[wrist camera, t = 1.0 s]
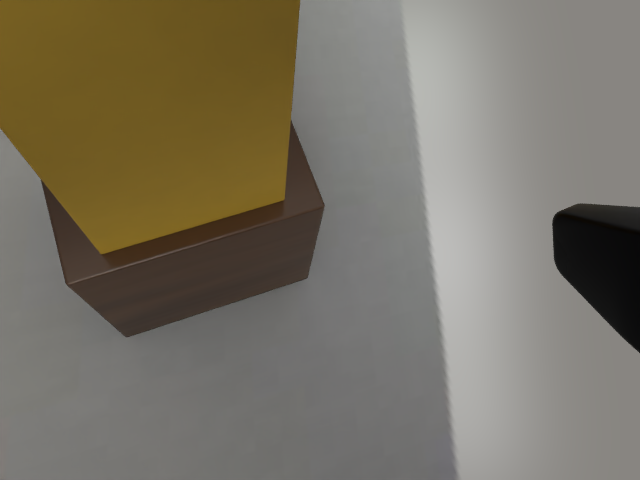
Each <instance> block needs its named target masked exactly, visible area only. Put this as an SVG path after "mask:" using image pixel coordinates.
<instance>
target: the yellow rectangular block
mask: <svg viewBox="0 0 640 480" xmlns="http://www.w3.org/2000/svg"><path fill="white" fill-rule="evenodd" d="M299 8H300V0H0V128H1V130H2V131H3V132H4V133H5V135H6V136H7V137H8V138H9V140H10V141H11V142H12V143H13V145H14V146H15V147H16V149H17V150H18V151H19V152H20V154H21V155H22V156H23V157H24V159H25V160H26V161H27V162H28V164H29V165H30V166H31V167H32V169H33V170H34V171H35V172H36V174H37V175H38V176H39V177H40V179H41V180H42V181H43V182H44V184H45V185H46V186H47V187H48V189H49V190H50V191H51V192H52V194H53V195H54V196H55V197H56V199H57V200H58V201H59V202H60V204H61V205H62V206H63V207H64V209H65V210H66V211H67V212H68V214H69V215H70V216H71V217H72V219H73V220H74V221H75V222H76V224H77V225H78V226H79V228H80V229H81V230H82V231H83V233H84V234H85V235H86V236H87V238H88V239H89V240H90V241H91V243H92V244H93V245H94V246H95V248H96V249H97V250H98V251H99V253H100V254H105V253H108V252H112V251H115V250H118V249H122V248H125V247H128V246H132V245H135V244H139V243H142V242H145V241H149V240H152V239H155V238H159V237H162V236H165V235H169V234H172V233H175V232H179V231H182V230H186V229H189V228H192V227H196V226H199V225H202V224H206V223H209V222H212V221H216V220H219V219H222V218H226V217H229V216H233V215H236V214H239V213H243V212H246V211H249V210H253V209H256V208H259V207H263V206H266V205H270V204H273V203H276V202H280V201H283V200H284V199H285V188H286V175H287V162H288V149H289V136H290V124H291V111H292V98H293V85H294V72H295V59H296V47H297V34H298V21H299Z"/></svg>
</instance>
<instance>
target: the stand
mask: <svg viewBox="0 0 640 480" xmlns="http://www.w3.org/2000/svg"><path fill="white" fill-rule="evenodd" d="M41 182H42V186H43V190H44V195H45V199H46V203H47V207H48V211H49V216H50V220H51V224H52V228H53V232H54V237H55V241H56V245H57V249H58V253H59V257H60V262H61V266H62V270H63V274H64V278H65V283H66V284H67V286H69V287H70V288H71V289H72V290H73V291H74V292H75V293H77V294H78V295H79V296H80V297H81V298H82V299H83V300H84V301H86V302H87V303H88V304H89V305H90V306H91V307H92V308H94V309H95V310H96V311H97V312H98V313H99V314H100V315H101V316H103V317H104V318H105V319H106V320H107V321H108V322H109V323H111V324H112V325H113V326H114V327H115V328H116V329H117V330H118V331H120V332H121V333H122V334H123V335H124V336H125V337H129V336H132V335H135V334H138V333H141V332H144V331H147V330H151V329H154V328H157V327H160V326H163V325H166V324H169V323H172V322H175V321H178V320H181V319H184V318H187V317H190V316H193V315H196V314H199V313H203V312H206V311H209V310H212V309H215V308H218V307H221V306H224V305H227V304H230V303H233V302H236V301H239V300H242V299H245V298H248V297H251V296H255V295H258V294H261V293H264V292H267V291H270V290H273V289H276V288H279V287H282V286H285V285H288V284H291V283H294V282H297V281H300V280H303V279H306V278H308V274H309V270H310V266H311V261H312V257H313V253H314V249H315V245H316V240H317V236H318V232H319V228H320V224H321V219H322V215H323V211H324V206H325V205H324V202H323V200H322V197H321V194H320V192H319V189H318V187H317V184H316V182H315V179H314V177H313V174H312V172H311V169H310V167H309V164H308V161H307V159H306V156H305V154H304V151H303V149H302V146H301V144H300V141H299V139H298V136H297V134H296V131H295V128H294V126H293V123H292V121H291V124H290V136H289V149H288V162H287V175H286V188H285V199H284V200H283V201H280V202H276V203H273V204H270V205H266V206H263V207H259V208H256V209H253V210H249V211H246V212H243V213H239V214H236V215H233V216H229V217H226V218H222V219H219V220H216V221H212V222H209V223H206V224H202V225H199V226H196V227H192V228H189V229H186V230H182V231H179V232H175V233H172V234H169V235H165V236H162V237H159V238H155V239H152V240H149V241H145V242H142V243H139V244H135V245H132V246H128V247H125V248H122V249H118V250H115V251H112V252H108V253H105V254H100V253H99V251H98V250H97V249H96V248H95V246H94V245H93V244H92V243H91V241H90V240H89V239H88V238H87V236H86V235H85V234H84V233H83V231H82V230H81V229H80V228H79V226H78V225H77V224H76V222H75V221H74V220H73V219H72V217H71V216H70V215H69V214H68V212H67V211H66V210H65V209H64V207H63V206H62V205H61V204H60V202H59V201H58V200H57V199H56V197H55V196H54V195H53V194H52V192H51V191H50V190H49V189H48V187H47V186H46V185H45V184H44V182H43V181H42V180H41Z"/></svg>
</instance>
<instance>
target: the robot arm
mask: <svg viewBox="0 0 640 480" xmlns="http://www.w3.org/2000/svg"><path fill="white" fill-rule="evenodd" d="M552 226H553V247H554V260H555V264H556V266H557V269H558V270H559V272H560V273H561V274H562V276H563V277H564V278H565V279H566V280H567V281H568V282H569V283H570V284H571V285H572V286H573V287H574V288H575V289H576V290H577V291H578V292H579V293H580V294H581V295H582V296H583V297H584V298H585V299H586V300H587V301H588V303H589V304H591V306H592V307H593V308H594V309H595V310H596V311H597V312H598V313H599V314H600V315H601V316H602V317H603V318H604V319H605V320H606V321H607V322H608V323H609V324H610V325H611V326H612V327H613V328H614V329H615V330H616V331H617V332H618V333H619V334H620V335H621V336H622V337H623V338H624V339H625V340H626V341H627V342H628V343H629V344H630V345H632V346H633V347H634V348H635V349H636V350H637V351H638V352H639V353H640V207H627V206H611V205H597V204H576V205H573V206H571V207H568V208H566V209H564V210H561V211H559V212H557V213H556V214H555V216H554V218H553V223H552Z"/></svg>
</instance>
